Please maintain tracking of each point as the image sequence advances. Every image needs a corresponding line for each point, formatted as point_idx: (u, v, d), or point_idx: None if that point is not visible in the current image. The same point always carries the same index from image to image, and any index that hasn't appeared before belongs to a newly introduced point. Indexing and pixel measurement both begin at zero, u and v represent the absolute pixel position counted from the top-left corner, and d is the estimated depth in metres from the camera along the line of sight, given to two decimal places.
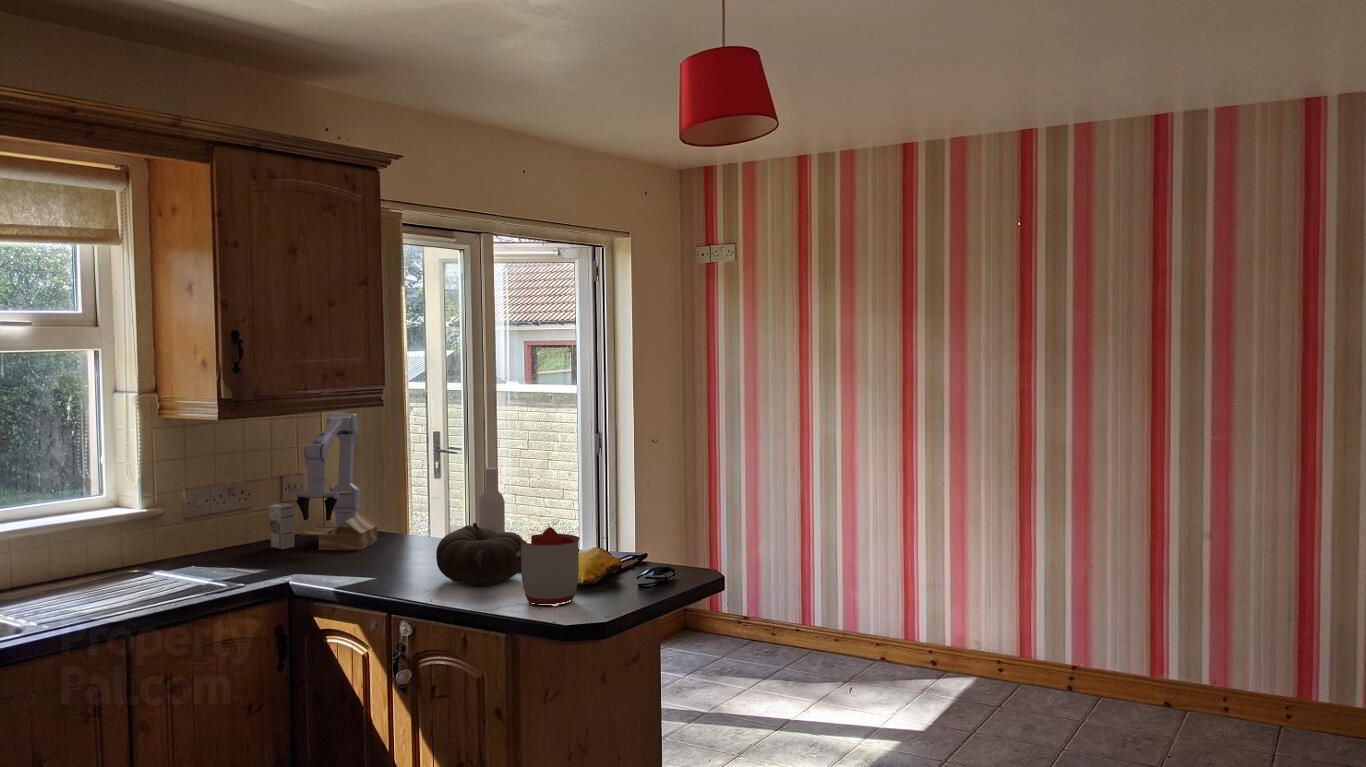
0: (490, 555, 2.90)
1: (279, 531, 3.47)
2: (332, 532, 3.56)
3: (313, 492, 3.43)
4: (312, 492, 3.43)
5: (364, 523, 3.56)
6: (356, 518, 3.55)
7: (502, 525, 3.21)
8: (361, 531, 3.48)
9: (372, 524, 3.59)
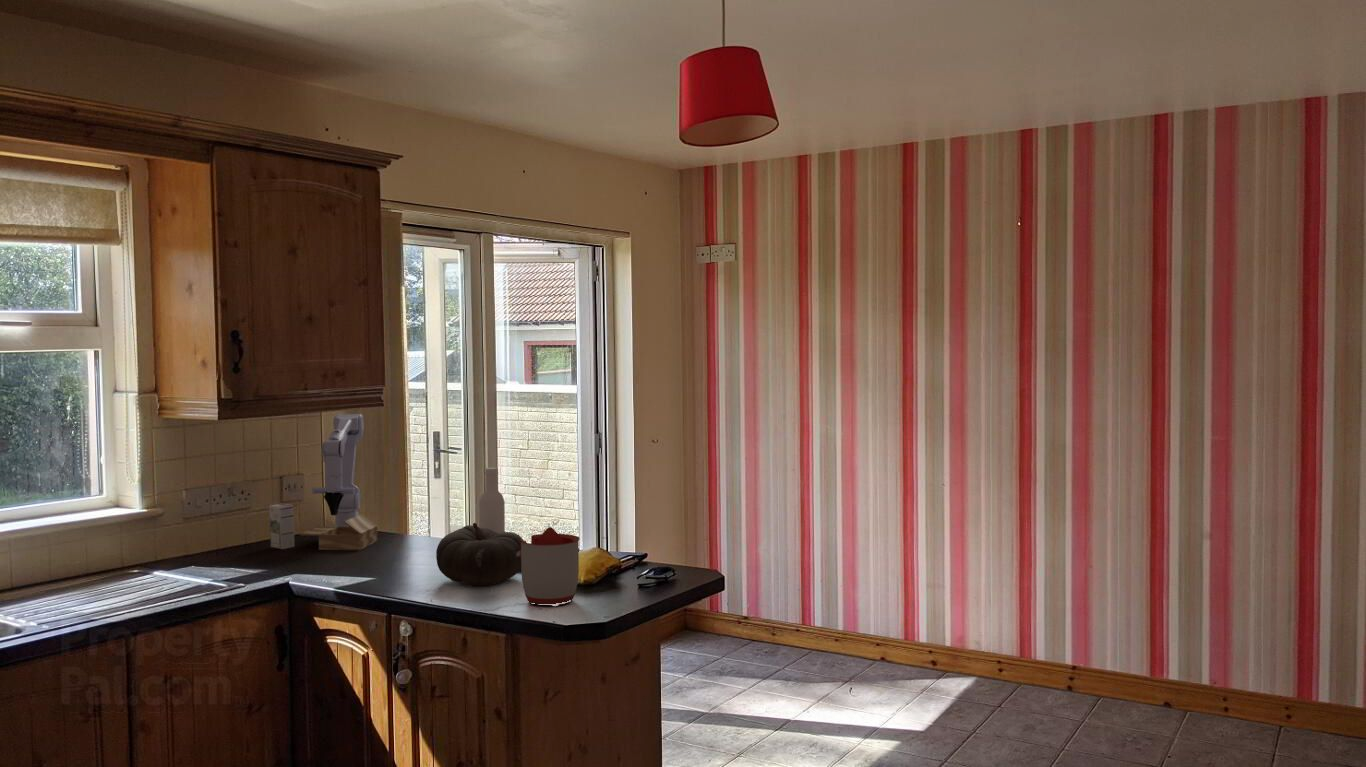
0: (490, 555, 2.90)
1: (279, 531, 3.47)
2: (332, 532, 3.56)
3: (330, 487, 3.51)
4: (329, 487, 3.51)
5: (364, 523, 3.56)
6: (356, 518, 3.55)
7: (502, 525, 3.21)
8: (361, 531, 3.48)
9: (372, 524, 3.59)
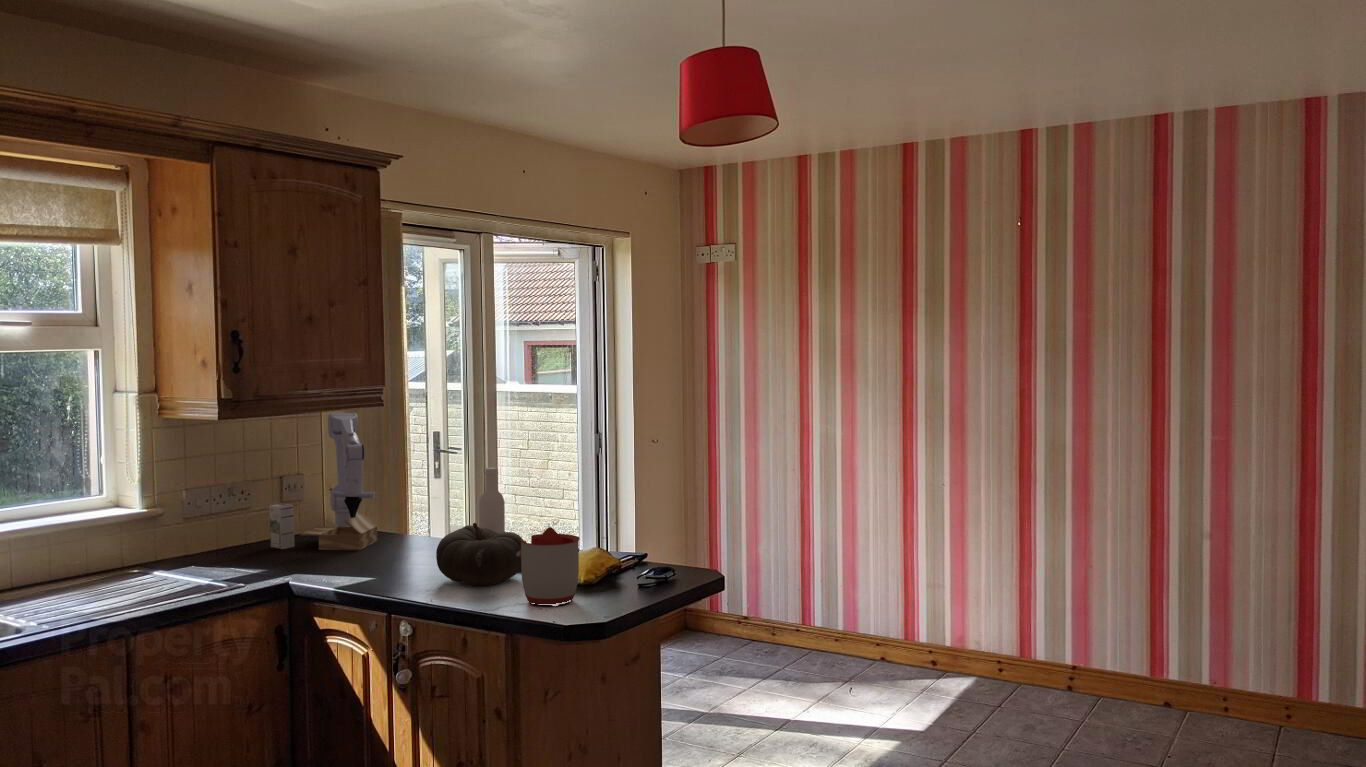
0: (490, 555, 2.90)
1: (279, 531, 3.47)
2: (332, 532, 3.56)
3: (350, 492, 3.51)
4: (349, 492, 3.51)
5: (364, 523, 3.56)
6: (357, 517, 3.55)
7: (502, 525, 3.21)
8: (361, 531, 3.48)
9: (372, 524, 3.59)
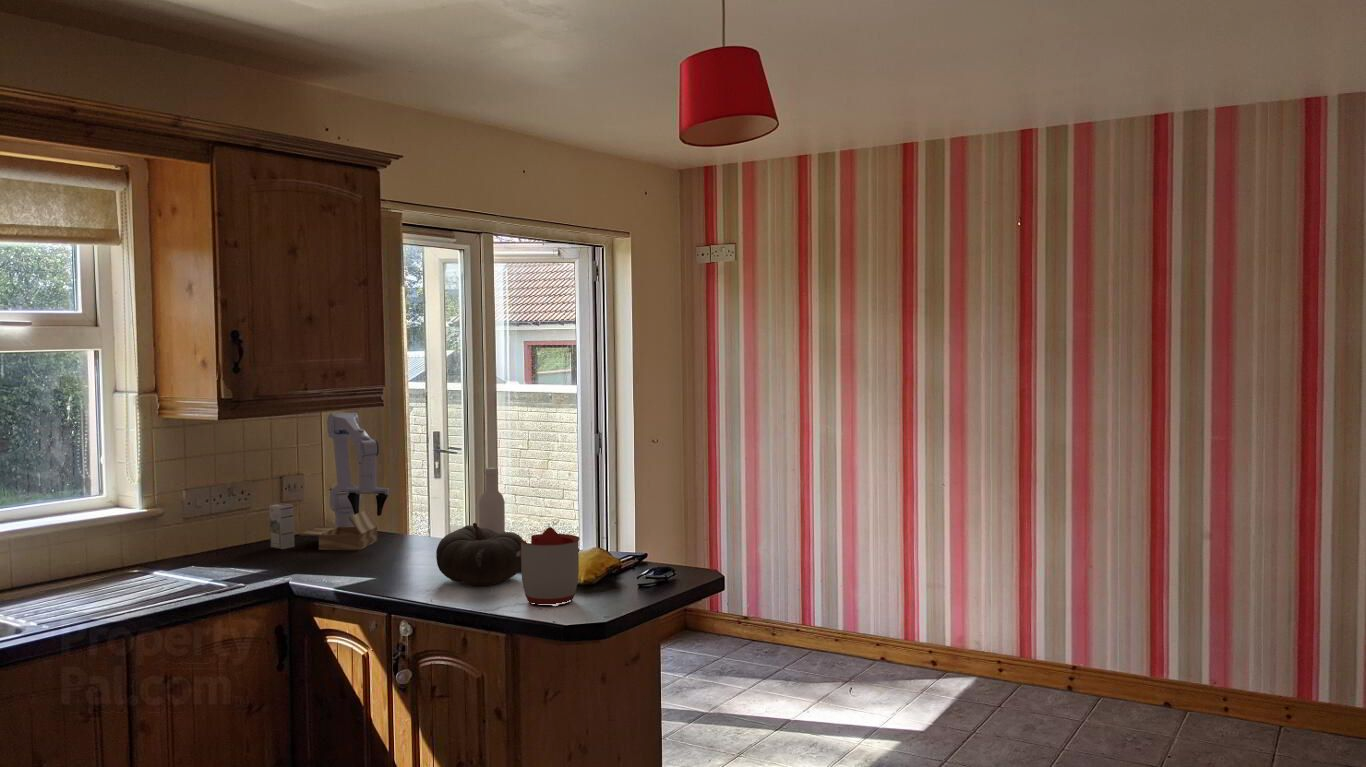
0: (490, 555, 2.90)
1: (279, 531, 3.47)
2: (332, 532, 3.56)
3: (364, 488, 3.50)
4: (363, 488, 3.50)
5: (366, 521, 3.56)
6: (360, 514, 3.55)
7: (502, 525, 3.21)
8: (362, 531, 3.48)
9: (373, 523, 3.59)
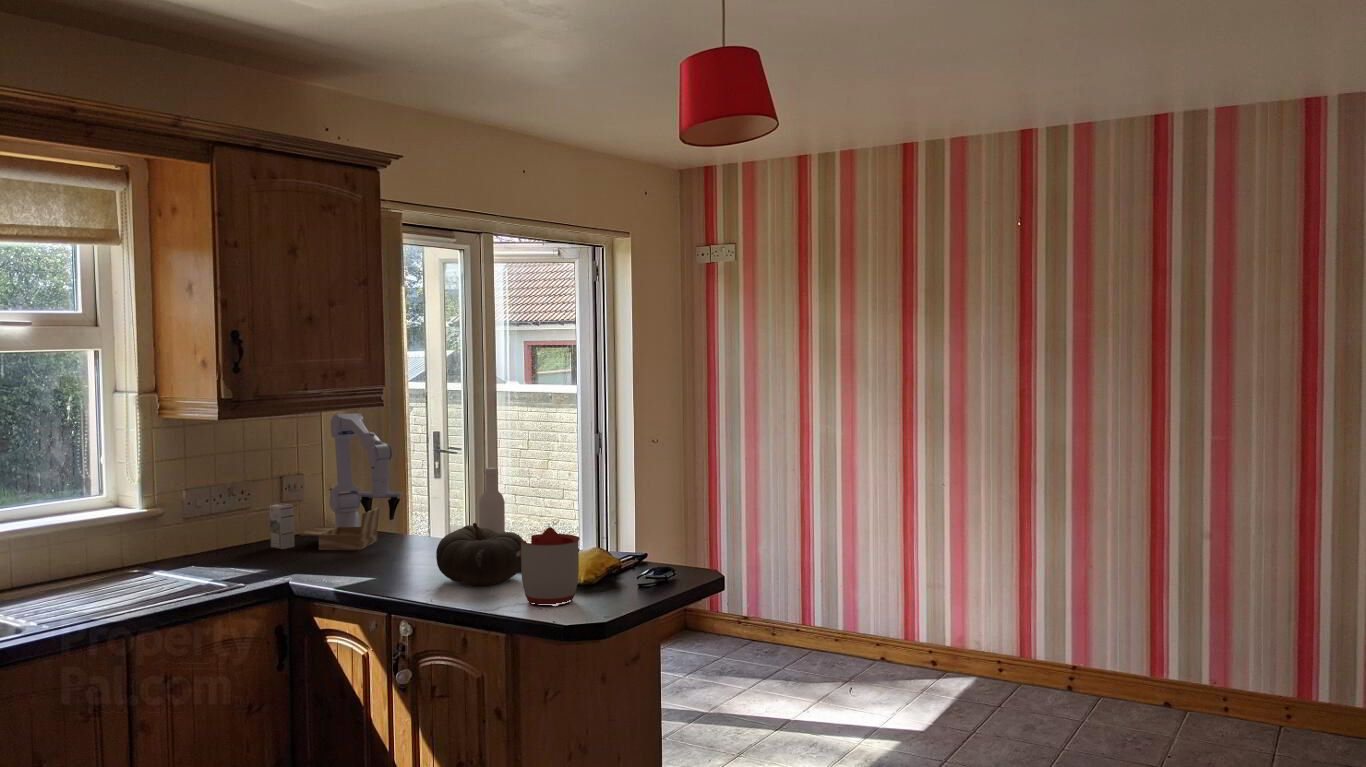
0: (490, 555, 2.90)
1: (279, 531, 3.47)
2: (332, 532, 3.56)
3: (377, 492, 3.50)
4: (376, 492, 3.50)
5: (373, 521, 3.56)
6: (373, 512, 3.55)
7: (502, 525, 3.21)
8: (363, 532, 3.48)
9: (376, 524, 3.59)
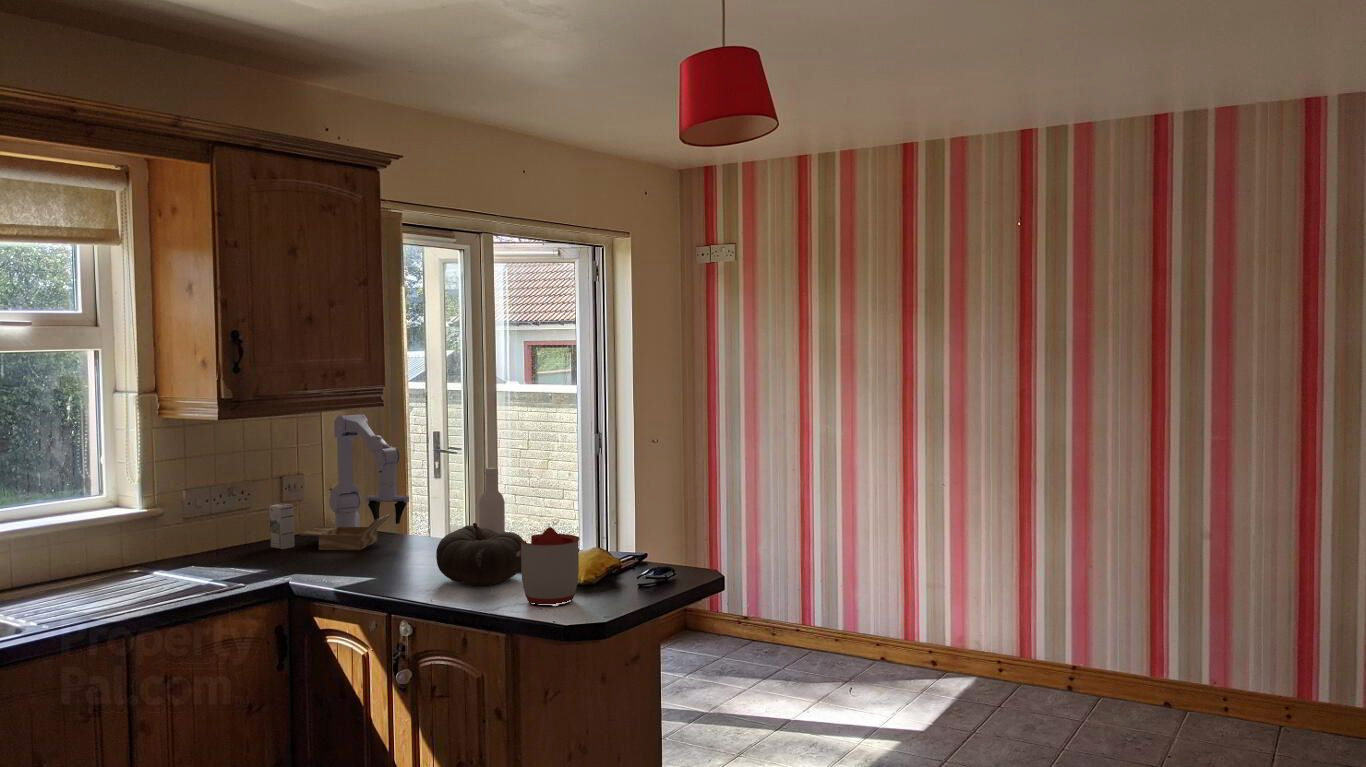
0: (490, 555, 2.90)
1: (279, 531, 3.47)
2: (332, 532, 3.56)
3: (384, 496, 3.50)
4: (383, 496, 3.50)
5: (377, 524, 3.55)
6: (383, 518, 3.55)
7: (502, 525, 3.21)
8: (364, 533, 3.48)
9: (378, 526, 3.59)
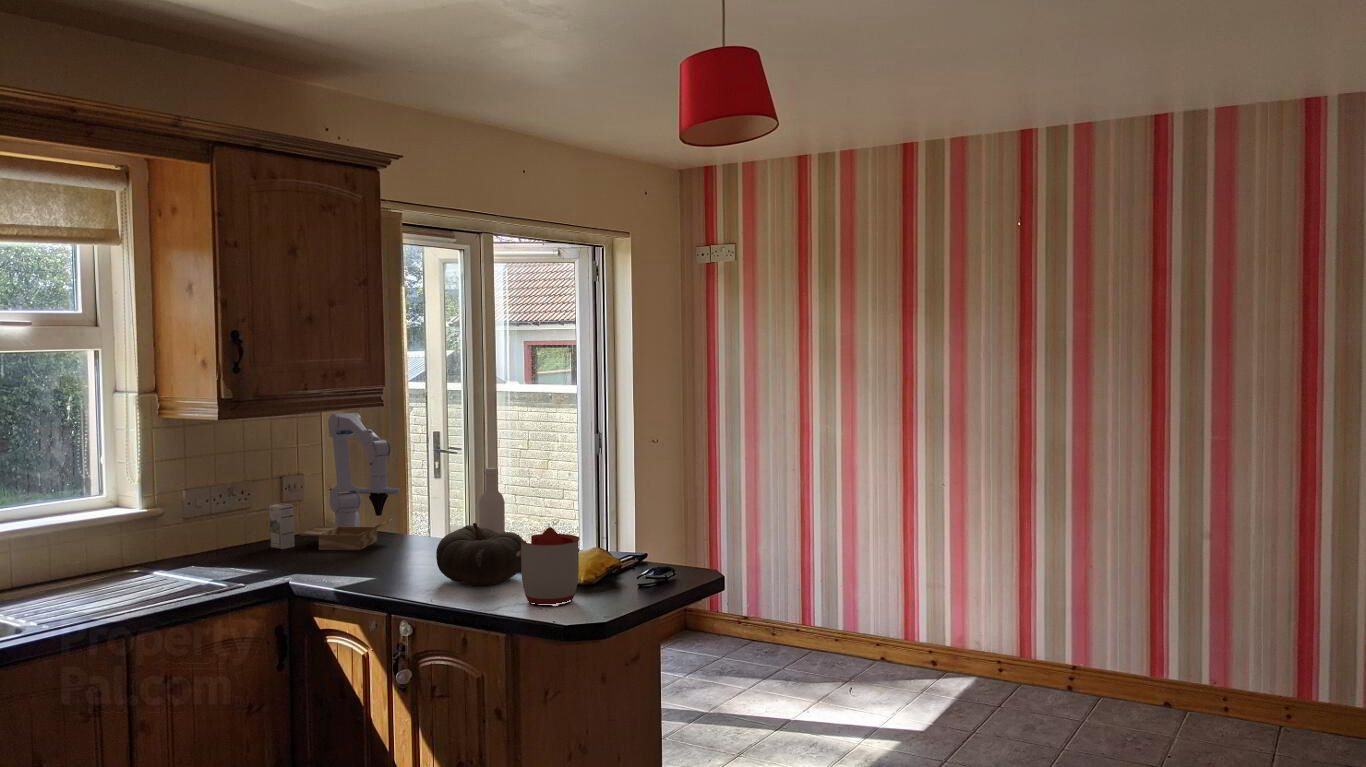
0: (490, 555, 2.90)
1: (279, 531, 3.47)
2: (332, 532, 3.56)
3: (375, 488, 3.51)
4: (375, 488, 3.51)
5: None
6: (386, 522, 3.55)
7: (502, 525, 3.21)
8: None
9: None
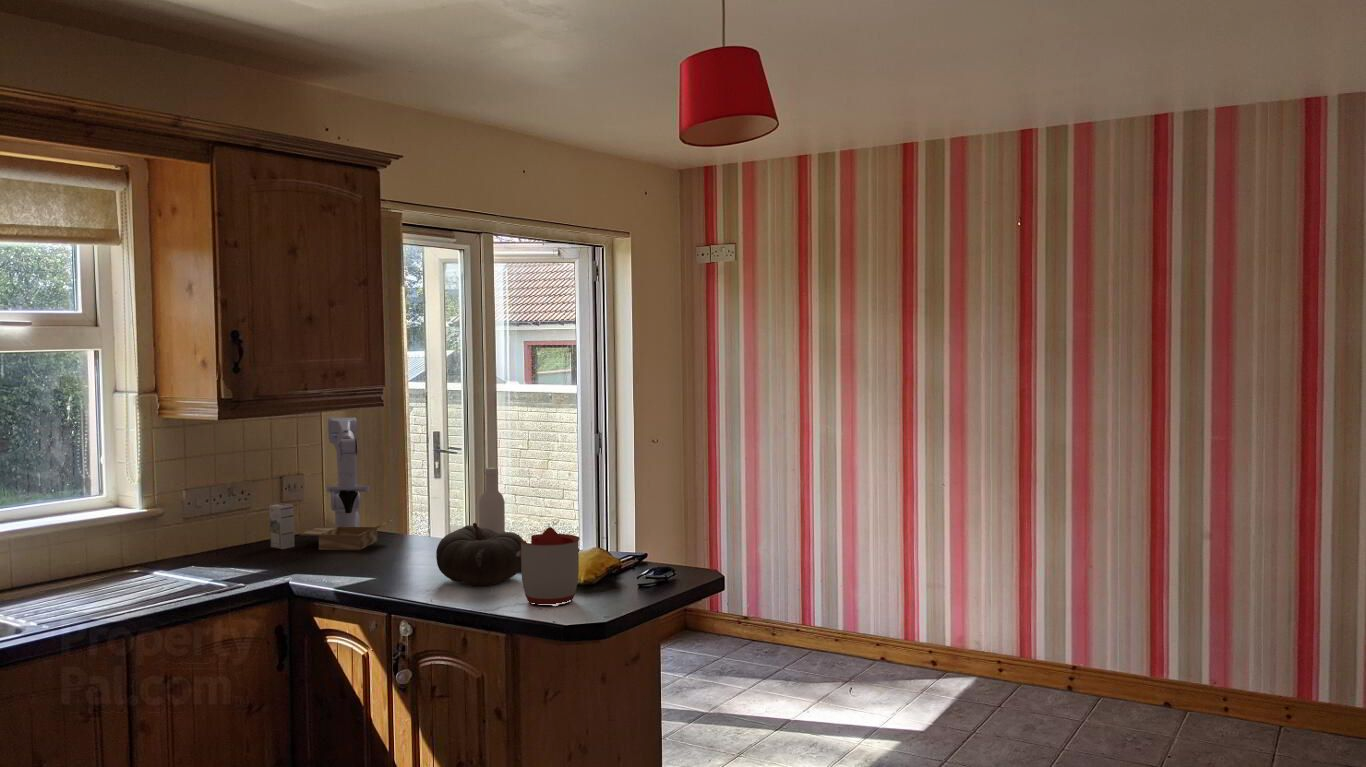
0: (490, 555, 2.90)
1: (279, 531, 3.47)
2: (332, 532, 3.56)
3: (345, 485, 3.56)
4: (344, 485, 3.56)
5: None
6: (386, 523, 3.55)
7: (502, 525, 3.21)
8: None
9: None
